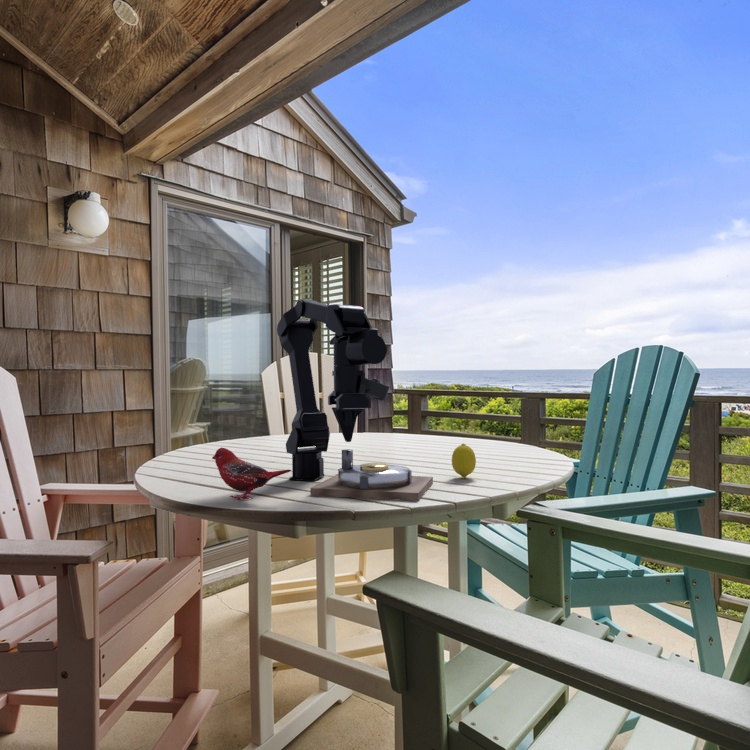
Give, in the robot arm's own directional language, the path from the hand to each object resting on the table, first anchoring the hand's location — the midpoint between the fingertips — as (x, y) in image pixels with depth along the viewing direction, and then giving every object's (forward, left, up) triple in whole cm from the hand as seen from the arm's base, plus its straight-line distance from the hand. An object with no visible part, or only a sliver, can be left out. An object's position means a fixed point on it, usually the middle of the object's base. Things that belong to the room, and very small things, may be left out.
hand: (348, 441), depth 105 cm
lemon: (+21, +21, -11) cm, 32 cm away
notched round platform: (+4, +4, -9) cm, 11 cm away
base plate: (+4, +4, -10) cm, 12 cm away
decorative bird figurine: (-17, -10, -11) cm, 22 cm away
